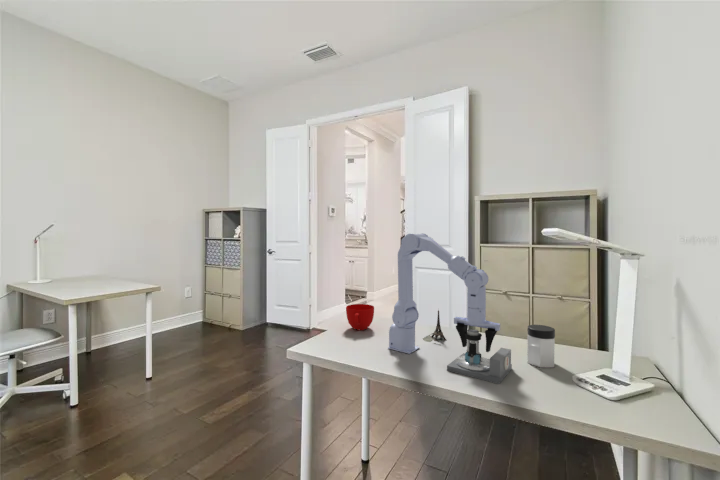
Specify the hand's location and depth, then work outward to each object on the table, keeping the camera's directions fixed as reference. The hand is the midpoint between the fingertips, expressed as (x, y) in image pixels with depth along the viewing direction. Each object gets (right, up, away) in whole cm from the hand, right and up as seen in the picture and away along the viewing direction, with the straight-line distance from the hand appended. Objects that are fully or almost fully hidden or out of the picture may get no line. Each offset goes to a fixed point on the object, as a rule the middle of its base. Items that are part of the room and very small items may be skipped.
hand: (476, 348), depth 110 cm
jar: (+23, -6, +4) cm, 24 cm away
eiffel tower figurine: (-6, -6, +30) cm, 32 cm away
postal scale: (+1, -6, -2) cm, 6 cm away
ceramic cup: (-38, -6, +43) cm, 58 cm away
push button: (-1, -4, 0) cm, 4 cm away
